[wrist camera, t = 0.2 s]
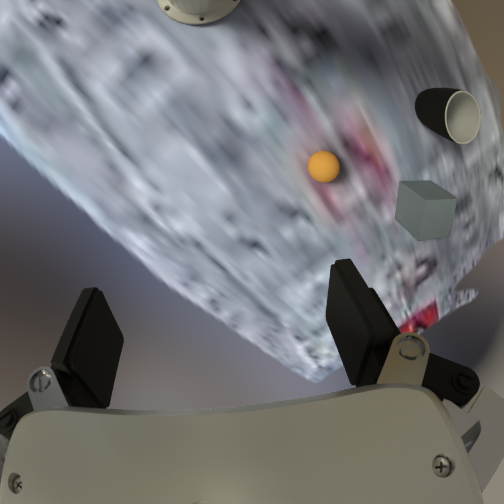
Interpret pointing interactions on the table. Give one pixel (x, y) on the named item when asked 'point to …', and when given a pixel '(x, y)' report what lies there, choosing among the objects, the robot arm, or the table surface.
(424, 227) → the grey rounded box
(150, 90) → the table surface
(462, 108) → the mug
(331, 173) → the ball
